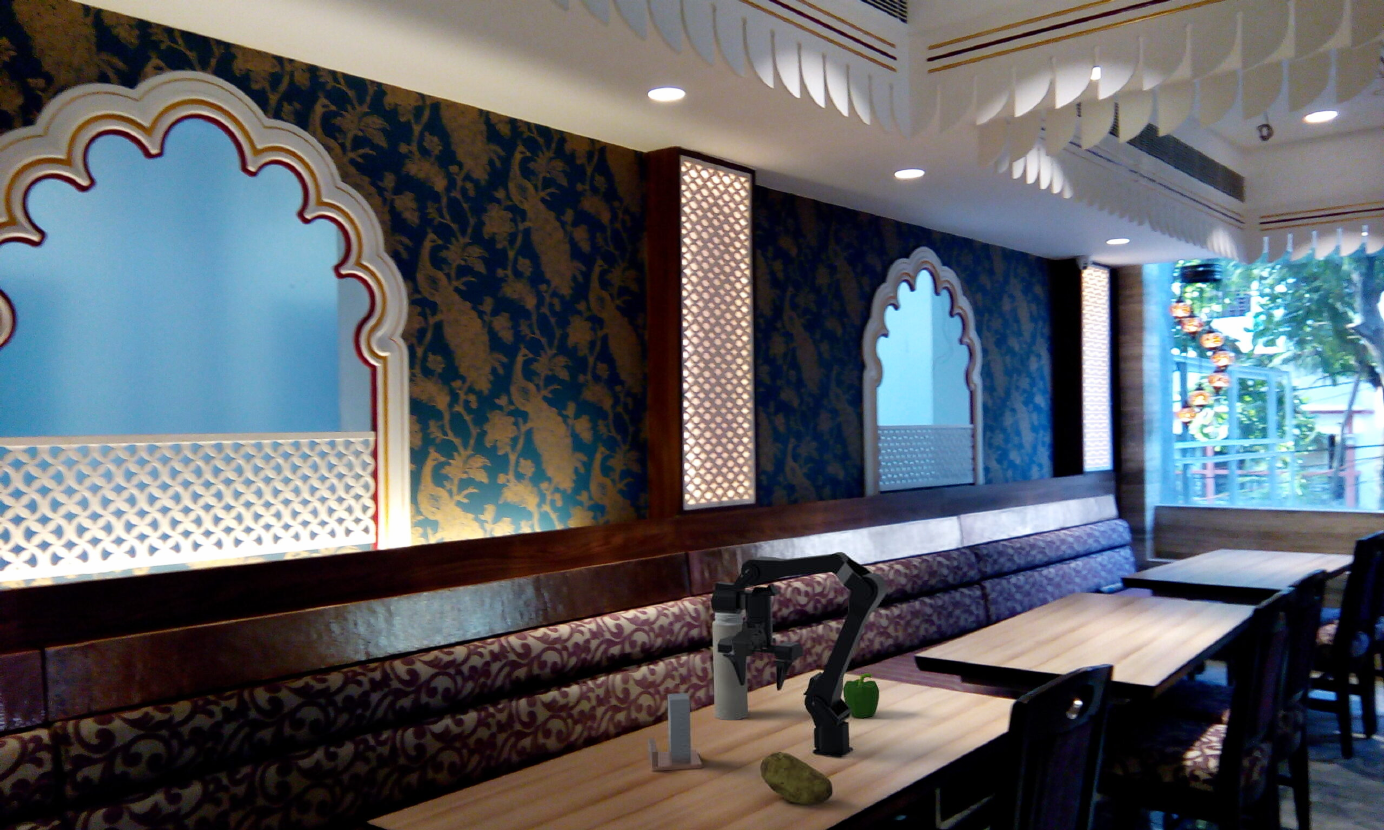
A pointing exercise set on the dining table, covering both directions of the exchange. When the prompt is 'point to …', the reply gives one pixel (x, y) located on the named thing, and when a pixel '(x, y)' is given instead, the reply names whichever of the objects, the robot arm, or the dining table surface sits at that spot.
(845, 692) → the bell pepper
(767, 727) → the dining table surface
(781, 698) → the dining table surface
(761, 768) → the potato
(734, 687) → the thermos bottle
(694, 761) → the plate
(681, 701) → the block
